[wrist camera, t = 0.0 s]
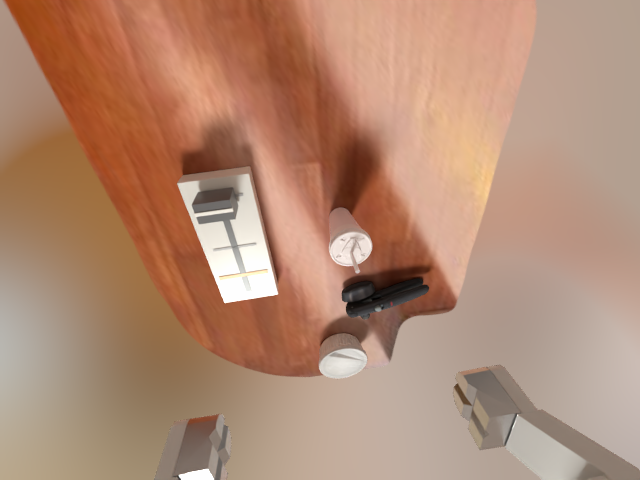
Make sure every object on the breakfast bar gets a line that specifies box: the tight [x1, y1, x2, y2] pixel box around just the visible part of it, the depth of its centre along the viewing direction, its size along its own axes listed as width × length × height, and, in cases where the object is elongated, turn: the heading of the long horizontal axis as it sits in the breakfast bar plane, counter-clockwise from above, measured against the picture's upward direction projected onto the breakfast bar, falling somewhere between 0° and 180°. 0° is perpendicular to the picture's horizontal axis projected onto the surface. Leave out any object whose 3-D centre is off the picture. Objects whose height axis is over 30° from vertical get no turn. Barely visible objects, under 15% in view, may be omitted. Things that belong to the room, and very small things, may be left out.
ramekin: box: [319, 333, 367, 378], centre depth 70 cm, size 11×11×5 cm
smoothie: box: [329, 207, 372, 273], centre depth 46 cm, size 6×6×14 cm
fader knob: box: [192, 187, 238, 224], centre depth 41 cm, size 3×5×4 cm, turn 95°
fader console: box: [177, 166, 278, 303], centre depth 50 cm, size 24×10×3 cm, turn 5°
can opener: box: [342, 278, 429, 319], centre depth 61 cm, size 18×7×6 cm, turn 98°
